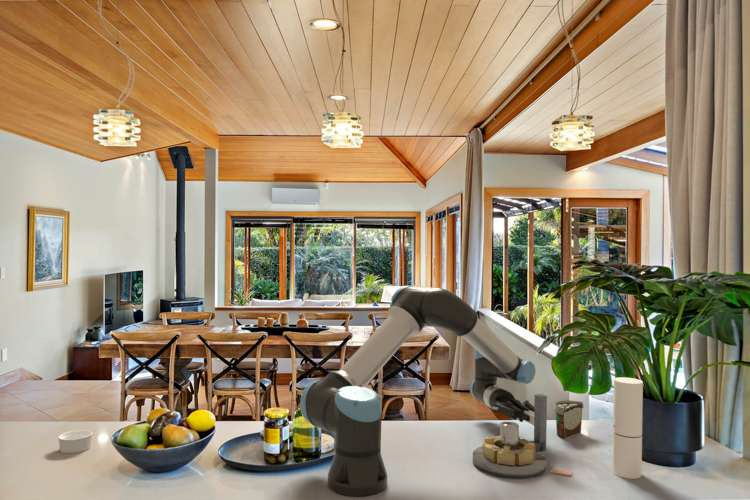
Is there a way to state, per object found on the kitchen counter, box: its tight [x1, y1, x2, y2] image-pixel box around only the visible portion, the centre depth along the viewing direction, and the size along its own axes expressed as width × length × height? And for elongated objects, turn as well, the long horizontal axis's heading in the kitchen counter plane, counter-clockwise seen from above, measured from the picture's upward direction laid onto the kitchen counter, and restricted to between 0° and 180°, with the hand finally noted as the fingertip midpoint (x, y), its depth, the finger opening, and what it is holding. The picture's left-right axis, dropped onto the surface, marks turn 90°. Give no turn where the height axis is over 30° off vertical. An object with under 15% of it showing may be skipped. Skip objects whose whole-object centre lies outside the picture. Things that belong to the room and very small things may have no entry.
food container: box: [552, 399, 584, 440], centre depth 182 cm, size 12×6×10 cm, turn 130°
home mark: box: [550, 468, 573, 477], centre depth 150 cm, size 5×2×1 cm, turn 65°
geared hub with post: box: [482, 393, 548, 466], centre depth 157 cm, size 19×14×16 cm
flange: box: [472, 421, 548, 480], centre depth 156 cm, size 20×20×11 cm
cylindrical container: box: [611, 376, 644, 480], centre depth 151 cm, size 7×7×25 cm
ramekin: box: [57, 429, 94, 455], centre depth 164 cm, size 9×9×4 cm
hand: (539, 421), depth 163 cm, fingers closed
